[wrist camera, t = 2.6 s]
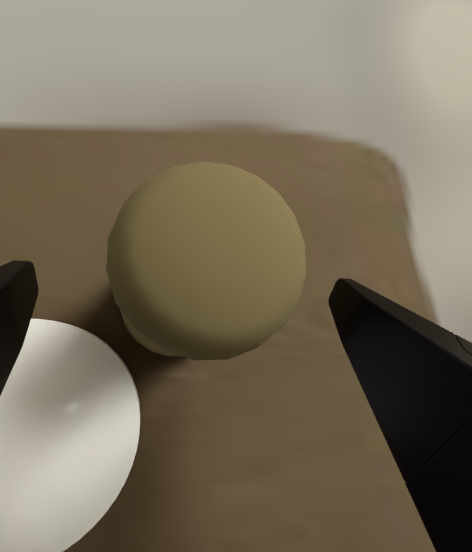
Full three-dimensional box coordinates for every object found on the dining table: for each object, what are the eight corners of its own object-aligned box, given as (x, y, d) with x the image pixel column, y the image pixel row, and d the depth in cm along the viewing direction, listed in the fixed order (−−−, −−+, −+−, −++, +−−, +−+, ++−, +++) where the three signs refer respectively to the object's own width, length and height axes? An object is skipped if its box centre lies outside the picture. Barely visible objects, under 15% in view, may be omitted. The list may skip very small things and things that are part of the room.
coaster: (17, 612, 13) (5, 638, 12) (-182, 459, 12) (-216, 472, 11) (182, 408, 16) (184, 414, 15) (32, 278, 15) (23, 273, 14)
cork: (126, 367, 16) (87, 422, 5) (113, 253, 17) (59, 113, 6) (238, 345, 18) (371, 355, 7) (221, 243, 18) (317, 122, 8)
